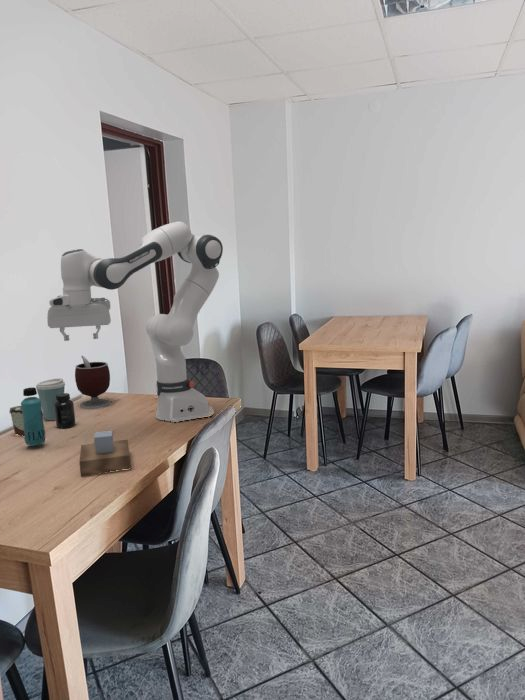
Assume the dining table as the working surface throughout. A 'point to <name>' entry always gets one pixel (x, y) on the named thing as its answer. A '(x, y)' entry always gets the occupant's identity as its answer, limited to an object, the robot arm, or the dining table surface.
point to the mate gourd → (93, 382)
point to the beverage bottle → (32, 418)
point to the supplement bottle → (64, 411)
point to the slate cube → (103, 442)
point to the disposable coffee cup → (49, 395)
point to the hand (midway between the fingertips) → (81, 339)
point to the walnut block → (104, 459)
